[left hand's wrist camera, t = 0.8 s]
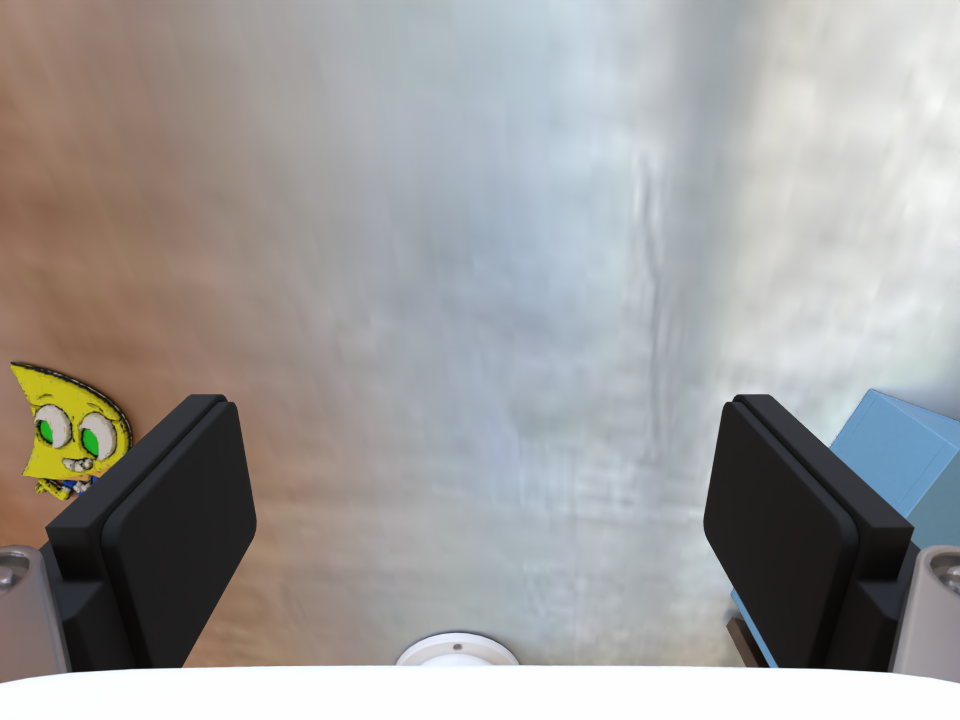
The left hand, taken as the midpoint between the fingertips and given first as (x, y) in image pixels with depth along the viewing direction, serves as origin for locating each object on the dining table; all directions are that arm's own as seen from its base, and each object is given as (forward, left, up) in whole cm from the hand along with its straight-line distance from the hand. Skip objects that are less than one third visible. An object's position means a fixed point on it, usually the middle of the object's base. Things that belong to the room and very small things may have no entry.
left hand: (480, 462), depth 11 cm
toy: (-19, +31, -30) cm, 48 cm away
